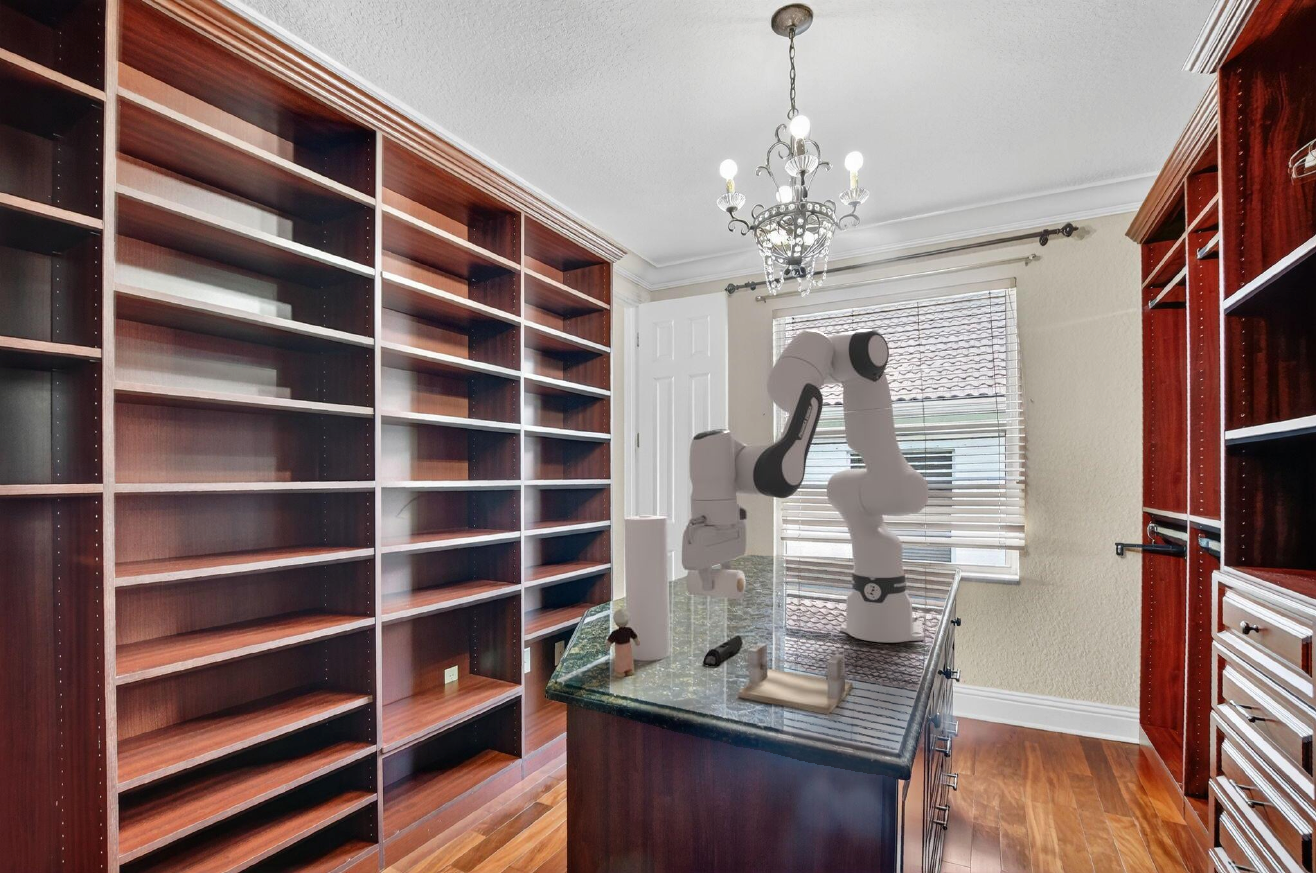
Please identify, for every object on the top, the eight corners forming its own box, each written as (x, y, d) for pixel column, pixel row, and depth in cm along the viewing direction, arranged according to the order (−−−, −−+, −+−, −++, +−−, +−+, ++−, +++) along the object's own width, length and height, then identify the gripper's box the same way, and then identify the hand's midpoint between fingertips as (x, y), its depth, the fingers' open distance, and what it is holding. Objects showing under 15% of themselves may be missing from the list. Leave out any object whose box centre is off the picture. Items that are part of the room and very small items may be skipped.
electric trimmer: (747, 649, 141) (746, 635, 141) (718, 668, 128) (717, 652, 128) (731, 648, 143) (731, 633, 143) (701, 666, 129) (701, 650, 130)
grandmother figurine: (630, 667, 128) (629, 604, 129) (643, 672, 126) (641, 607, 126) (600, 677, 123) (599, 611, 124) (613, 681, 120) (612, 614, 121)
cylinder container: (619, 658, 135) (617, 516, 137) (637, 646, 144) (635, 513, 145) (660, 662, 132) (657, 517, 133) (676, 649, 140) (673, 513, 142)
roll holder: (769, 673, 123) (768, 637, 123) (852, 687, 114) (851, 648, 115) (738, 696, 111) (737, 656, 111) (828, 714, 102) (827, 670, 103)
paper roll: (690, 599, 123) (682, 579, 121) (700, 581, 127) (693, 561, 124) (739, 605, 117) (732, 583, 115) (749, 585, 121) (742, 564, 119)
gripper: (702, 519, 111) (705, 599, 110) (750, 510, 128) (753, 579, 127) (671, 518, 114) (674, 596, 114) (722, 509, 131) (725, 576, 131)
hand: (716, 587), depth 121 cm, fingers closed on paper roll, 5 cm apart
